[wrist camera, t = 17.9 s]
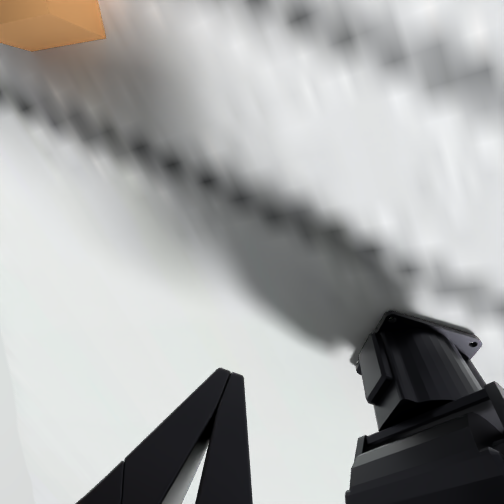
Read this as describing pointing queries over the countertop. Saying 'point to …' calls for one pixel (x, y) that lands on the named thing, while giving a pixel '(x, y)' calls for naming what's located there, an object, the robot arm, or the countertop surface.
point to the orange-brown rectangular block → (49, 23)
